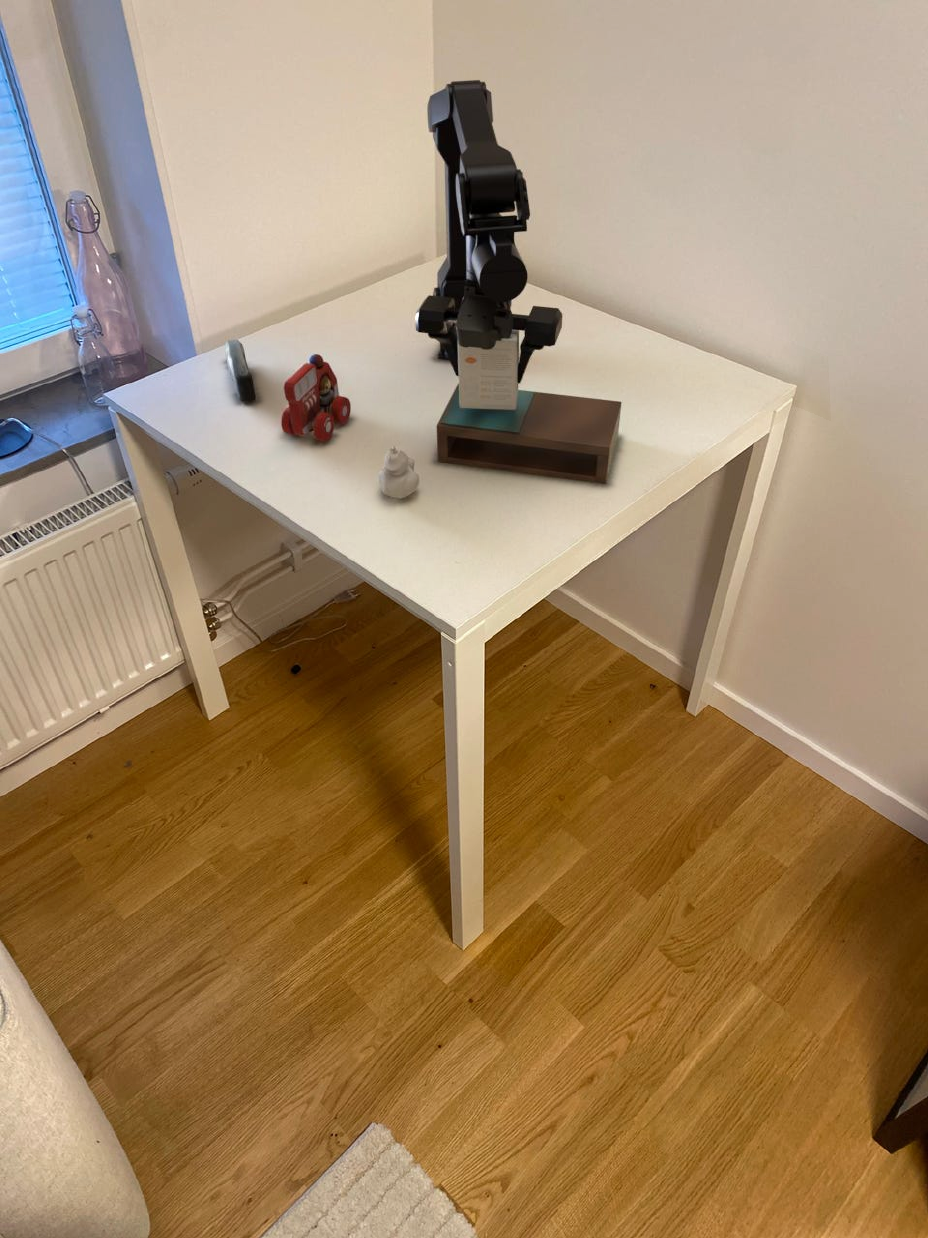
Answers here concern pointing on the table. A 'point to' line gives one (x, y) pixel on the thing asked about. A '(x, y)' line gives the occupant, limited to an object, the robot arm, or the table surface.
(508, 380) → the small box
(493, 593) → the table surface
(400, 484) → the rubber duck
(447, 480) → the table surface
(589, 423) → the shelf
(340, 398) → the toy fire truck
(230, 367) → the mobile phone
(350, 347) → the table surface
